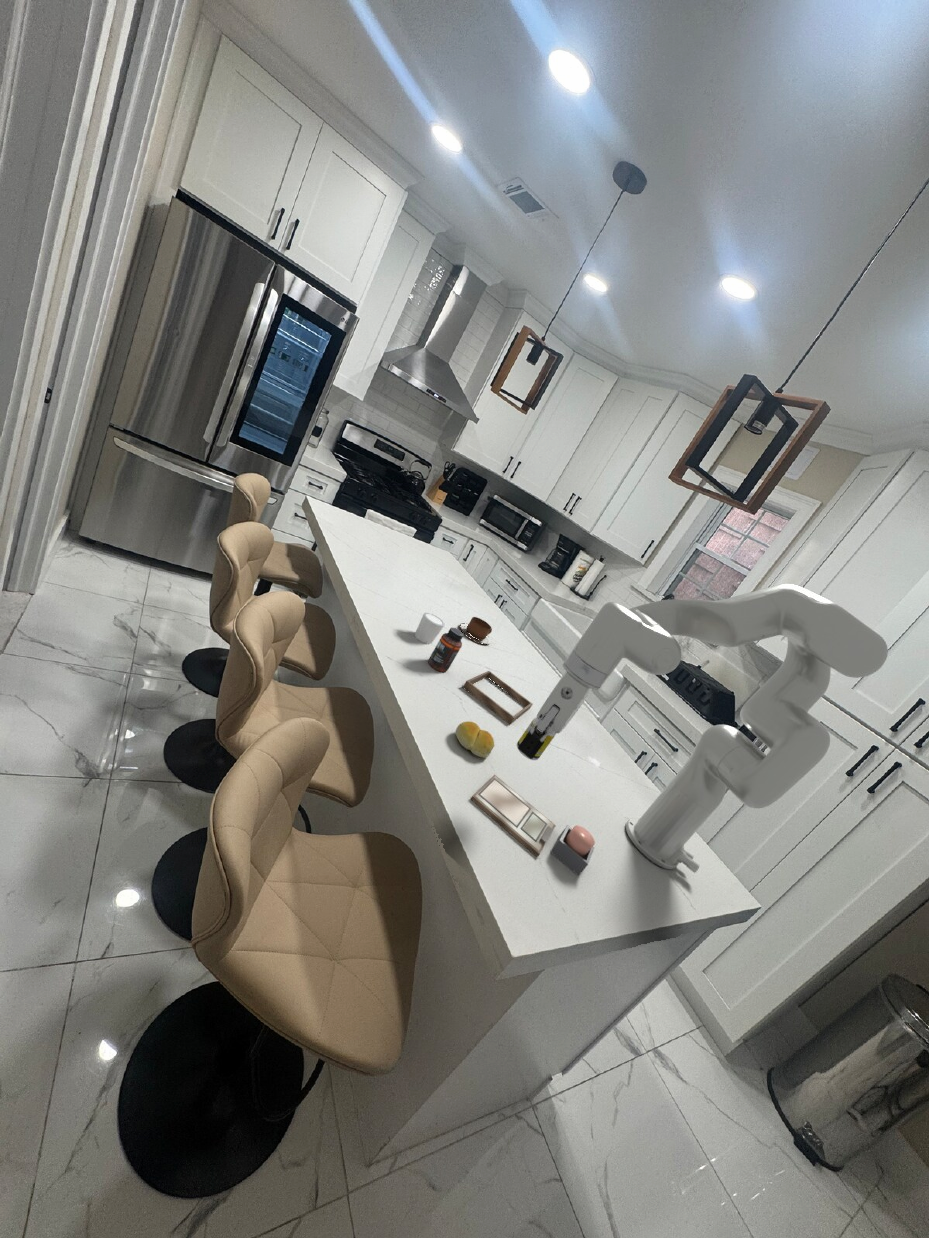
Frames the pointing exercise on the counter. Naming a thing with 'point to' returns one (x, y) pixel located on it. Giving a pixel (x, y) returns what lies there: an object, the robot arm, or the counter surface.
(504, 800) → the brown double tray
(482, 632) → the cup and saucer
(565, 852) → the button housing
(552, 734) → the supplement bottle
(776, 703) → the robot arm
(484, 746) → the bread roll
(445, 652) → the supplement bottle
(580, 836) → the button
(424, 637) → the white cup
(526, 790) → the counter surface
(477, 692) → the frame
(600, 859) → the counter surface
